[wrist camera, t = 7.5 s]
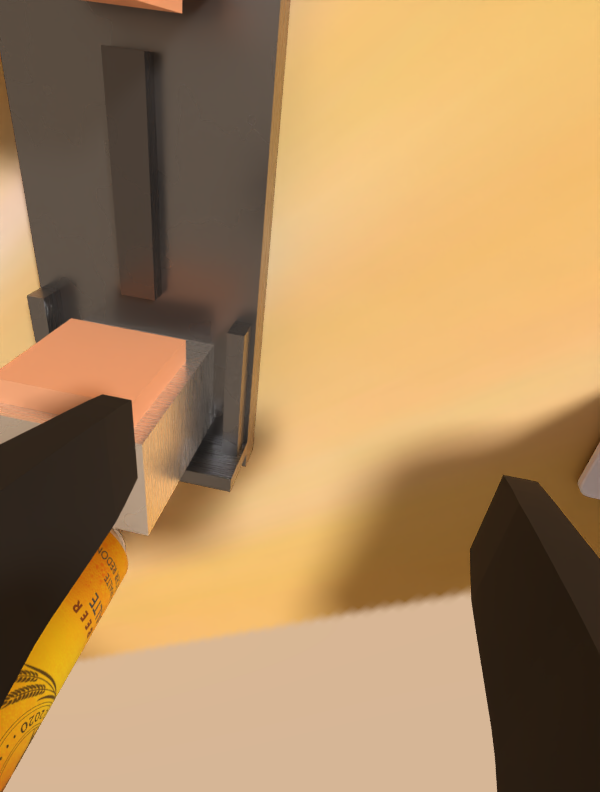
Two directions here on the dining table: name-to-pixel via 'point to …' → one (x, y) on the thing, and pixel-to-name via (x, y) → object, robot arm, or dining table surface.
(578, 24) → the dining table surface
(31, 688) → the beer can
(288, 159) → the dining table surface
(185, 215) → the rail
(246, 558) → the dining table surface
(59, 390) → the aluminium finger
